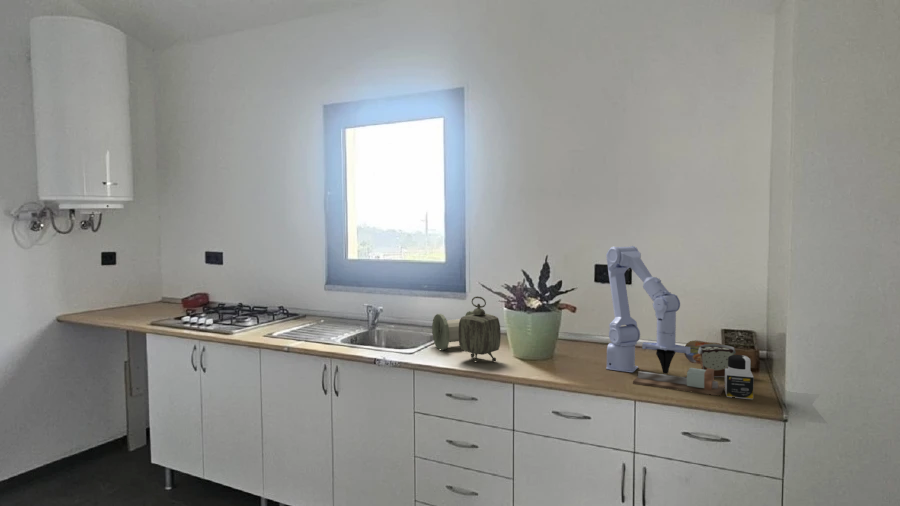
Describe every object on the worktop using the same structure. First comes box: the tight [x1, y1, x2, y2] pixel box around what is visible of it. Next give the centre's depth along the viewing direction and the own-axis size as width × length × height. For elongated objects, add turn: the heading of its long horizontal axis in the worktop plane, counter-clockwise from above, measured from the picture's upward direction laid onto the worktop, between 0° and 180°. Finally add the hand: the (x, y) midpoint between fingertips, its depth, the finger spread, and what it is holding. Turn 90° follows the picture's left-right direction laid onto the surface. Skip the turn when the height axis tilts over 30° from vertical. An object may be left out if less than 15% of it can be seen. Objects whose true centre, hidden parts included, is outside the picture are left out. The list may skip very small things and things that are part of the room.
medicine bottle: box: [724, 354, 755, 400], centre depth 166 cm, size 7×7×12 cm
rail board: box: [632, 368, 725, 397], centre depth 177 cm, size 26×10×6 cm, turn 58°
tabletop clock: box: [458, 296, 502, 362], centre depth 210 cm, size 14×9×25 cm, turn 48°
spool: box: [431, 310, 474, 351], centre depth 233 cm, size 16×15×15 cm
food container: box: [698, 344, 737, 378], centre depth 188 cm, size 12×6×10 cm, turn 92°
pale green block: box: [686, 367, 706, 388], centre depth 174 cm, size 5×6×4 cm
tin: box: [683, 339, 723, 365], centre depth 202 cm, size 15×3×8 cm, turn 47°
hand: (665, 372), depth 179 cm, fingers closed
